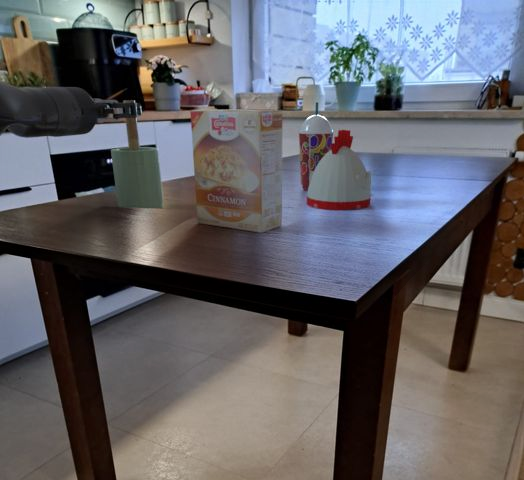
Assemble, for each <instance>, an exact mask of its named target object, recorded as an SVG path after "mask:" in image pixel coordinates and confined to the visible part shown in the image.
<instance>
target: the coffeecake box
mask: <svg viewBox="0 0 524 480" xmlns="http://www.w3.org/2000/svg"><path fill="white" fill-rule="evenodd" d="M189 112H190V127H191V128H190V129H191V140H192V141H191V142H192V159H193V173H194V187H195V188H194V189H195V205H196V216H197V217H196V219H197V222H196V223H197V224H201V225H207V226H213V227H214V226H215V227H220V228H227V229H232V230H240V231H246V232H253V233H259V234H263V233H266V232H269V231H270V230H273V229H277V228H279V227H281V226H282V224H283V223H282V222H283V110H282V109H281V110H274V109H272V110H271V109H269V110H267V109H266V110H264V109H263V110H261V109H260V110H259V109H192V110H190V111H189Z"/></svg>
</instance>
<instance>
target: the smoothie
mask: <svg viewBox="0 0 524 480" xmlns="http://www.w3.org/2000/svg"><path fill="white" fill-rule="evenodd" d="M314 111H315V113H314V114H313V115H310V116H309V117H307V118H306V119H305V120H304V121H303V122H302V124H301V127H300V129H299V130H298V140H299V141H298V142H299V143H298V144H299V169H300V172H299V173H300V185H301V186H302V190H304V191H306V192H308V188H309V184H310V173H311V171H314V170H315V168H316V166H317V165H318V163H319V162H320V160H321V159H322V158H323V157H324V155H325V154H326V153H328V152H329V151H330V150H331V143H333V140H334V130H333V128H332V126H331V123H330V121H329V120H328V119H327V118H326V117H325V116H322V115H320V114H319V102H315V110H314Z"/></svg>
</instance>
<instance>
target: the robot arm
mask: <svg viewBox="0 0 524 480" xmlns="http://www.w3.org/2000/svg"><path fill="white" fill-rule="evenodd" d="M109 104H110V105H111V107H110V106H109ZM142 114H143V113H142V105H141V103H140V102H135V103H134V102H131V103H128V102H125V103H124V102H119V101H118V100H117V99H102V98H92V96H91V95H90V94H89V92H87V90H85V89H83V88H81V87H78V86H44V87H39V88H32V87H31V88H27V87H25V88H20V87H17V86H15V85H13V84H9V83H6V82H4V81H1V80H0V137H1V136H2V135H3V133H5V131H6V130H8V131H9V132H10V133H11V134H13V135H14V136H17V137H19V138H25V139H29V138H42V137H43V138H44V137H54V138H59V137H70V136H80V135H81V136H82V135H87V134H88V133H91V131H92V130H93V129H94V128H95V126H96V124H99V123H101V124H103V123H105V122H116V121H117V122H119V121H120V119H125V118H136V117H137V118H138V117H140V116H142ZM110 115H112V117H110Z"/></svg>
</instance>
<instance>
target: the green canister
mask: <svg viewBox="0 0 524 480" xmlns="http://www.w3.org/2000/svg"><path fill="white" fill-rule="evenodd" d="M110 154H111V162H112V163H111V164H112V169H113V177H114V186H115V192H116V200H117V205H118V208H133V209H157V210H158V209H160V210H163V209H164V197H163V185H162V175H161V164H160V163H161V162H160V154H159V148H158V147H152V146H140V150H138V151H129V146H127V147H117V148H112V149H110Z"/></svg>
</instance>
